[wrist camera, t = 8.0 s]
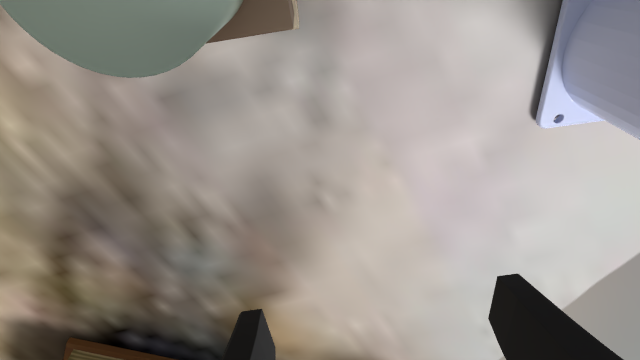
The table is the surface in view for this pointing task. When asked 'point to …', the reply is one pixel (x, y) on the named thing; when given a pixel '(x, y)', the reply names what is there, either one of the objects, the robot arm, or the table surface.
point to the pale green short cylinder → (123, 31)
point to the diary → (103, 352)
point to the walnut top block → (257, 19)
